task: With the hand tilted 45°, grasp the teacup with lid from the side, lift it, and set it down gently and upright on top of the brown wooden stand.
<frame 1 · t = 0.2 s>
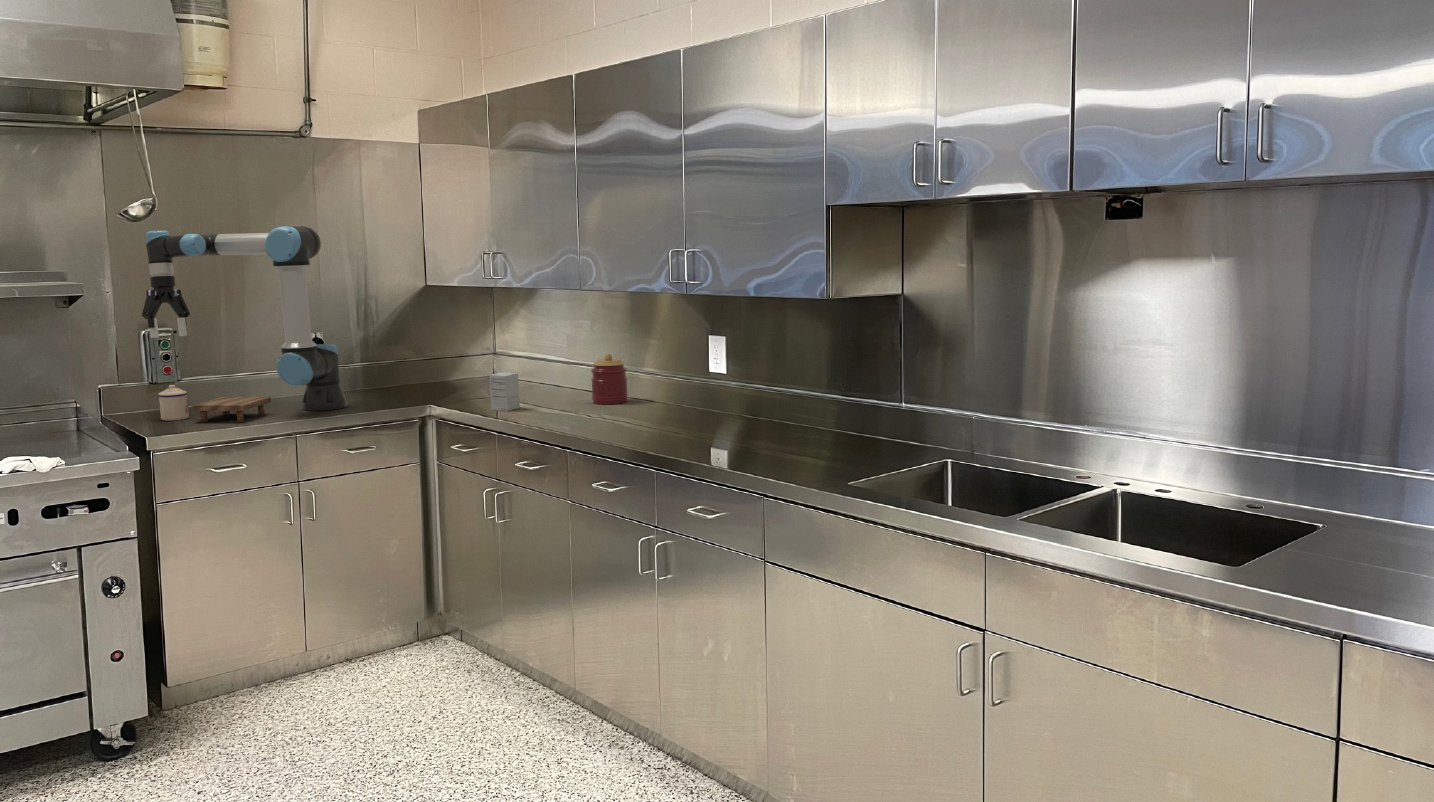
hand: (169, 336, 372), 27 cm above the worktop, tool pointing down, fingers open, 13 cm apart
brown wooden stand: (233, 418, 365), on the worktop
canister: (610, 402, 386), on the worktop
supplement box: (505, 409, 374), on the worktop
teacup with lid: (173, 418, 368), on the worktop
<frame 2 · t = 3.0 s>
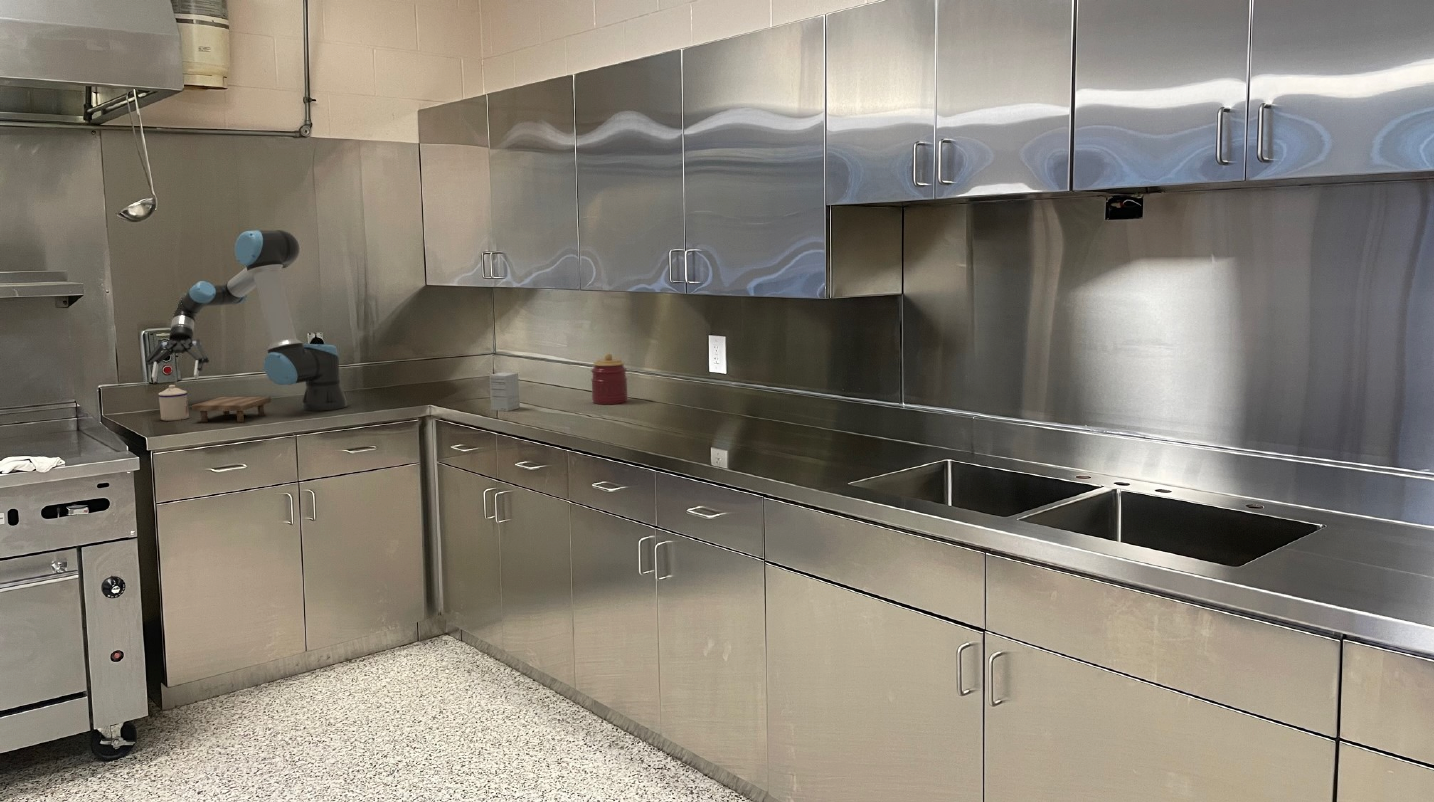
hand: (174, 378, 374), 13 cm above the worktop, tool tilted 45°, fingers open, 13 cm apart
nothing on the worktop moved.
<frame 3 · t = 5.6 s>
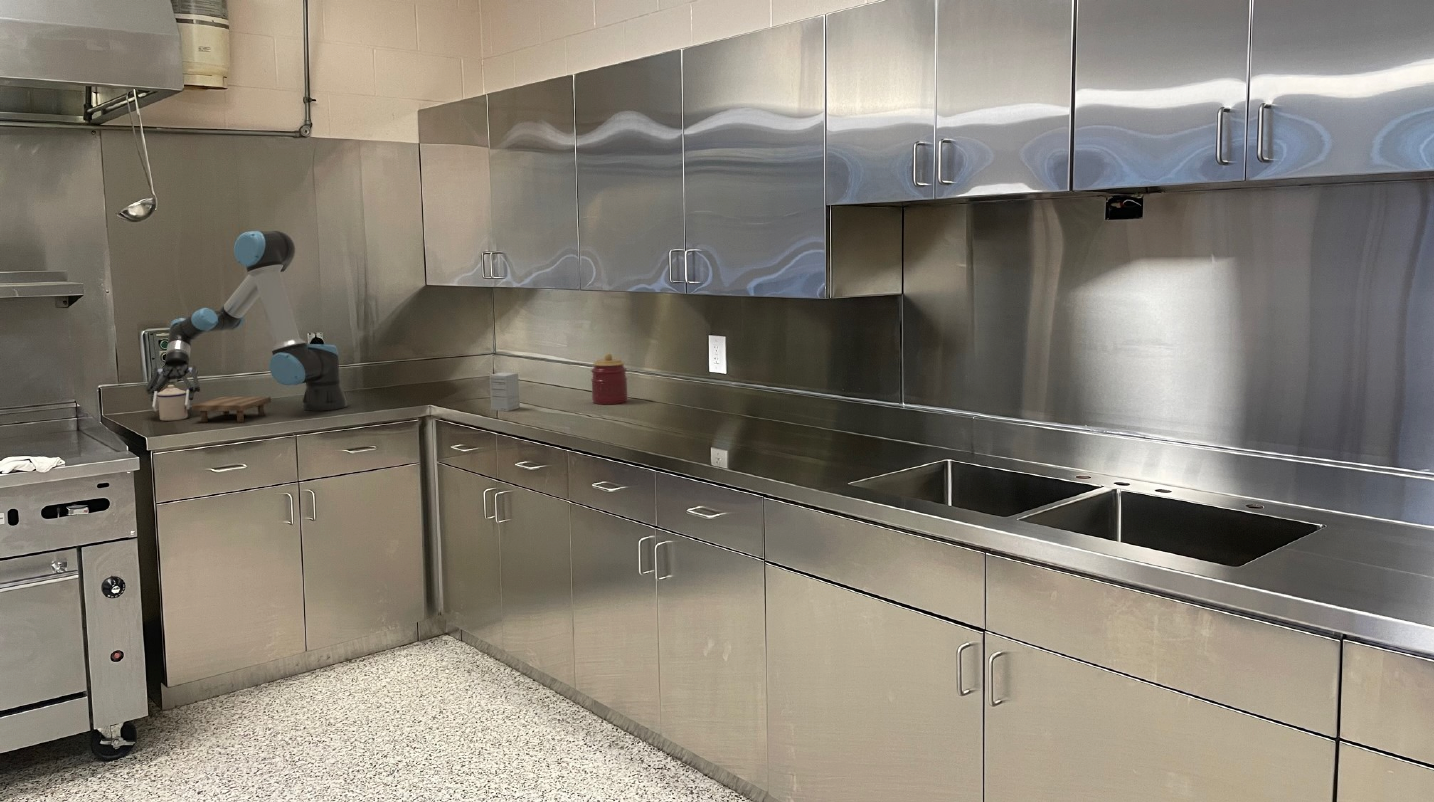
hand: (170, 407, 364), 4 cm above the worktop, tool tilted 45°, fingers open, 9 cm apart
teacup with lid: (172, 418, 368), on the worktop, touching gripper
everything else where it was.
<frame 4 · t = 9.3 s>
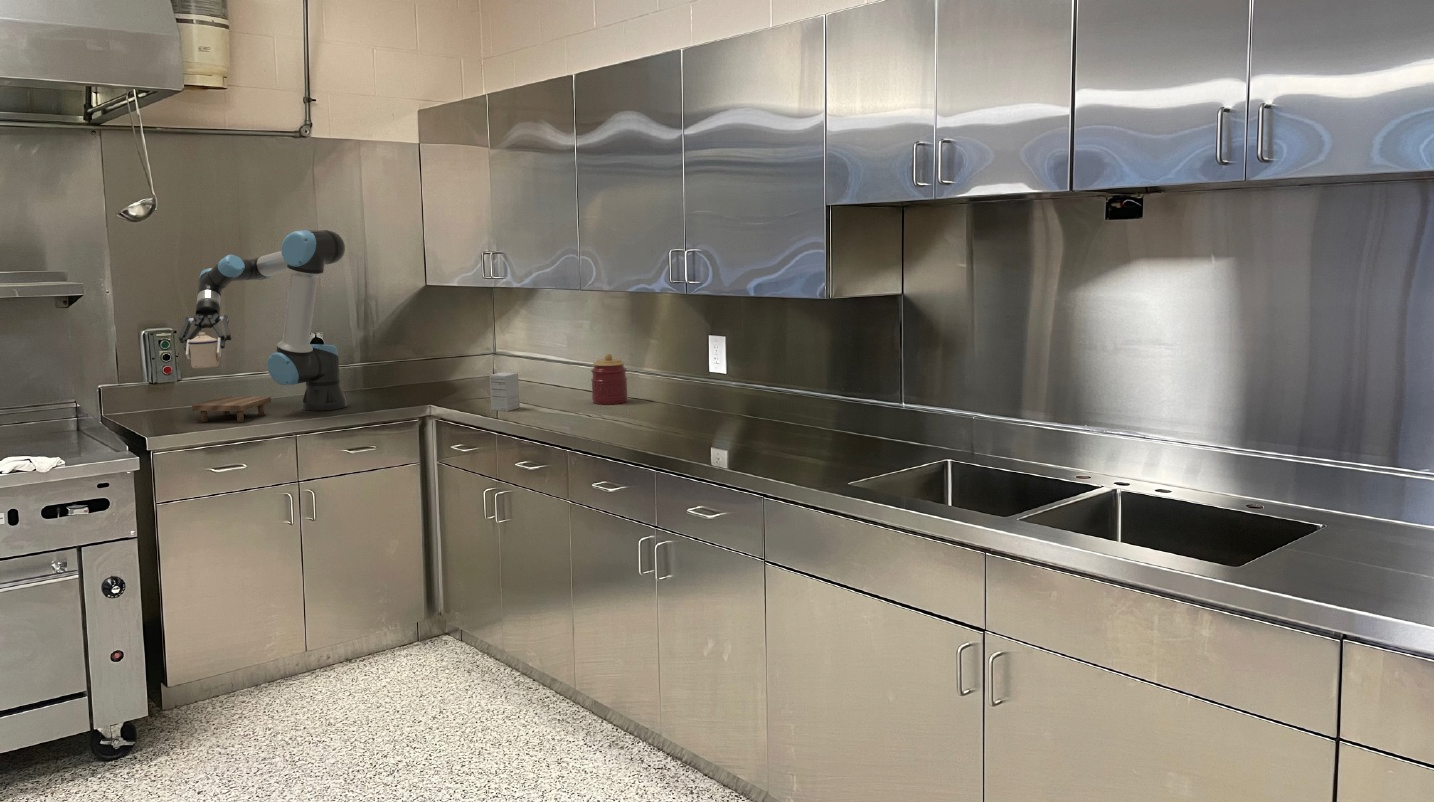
hand: (203, 355, 360), 22 cm above the worktop, tool tilted 45°, fingers closed on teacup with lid, 9 cm apart
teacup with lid: (204, 367, 364), point 18 cm above the worktop, touching gripper
everything else where it was.
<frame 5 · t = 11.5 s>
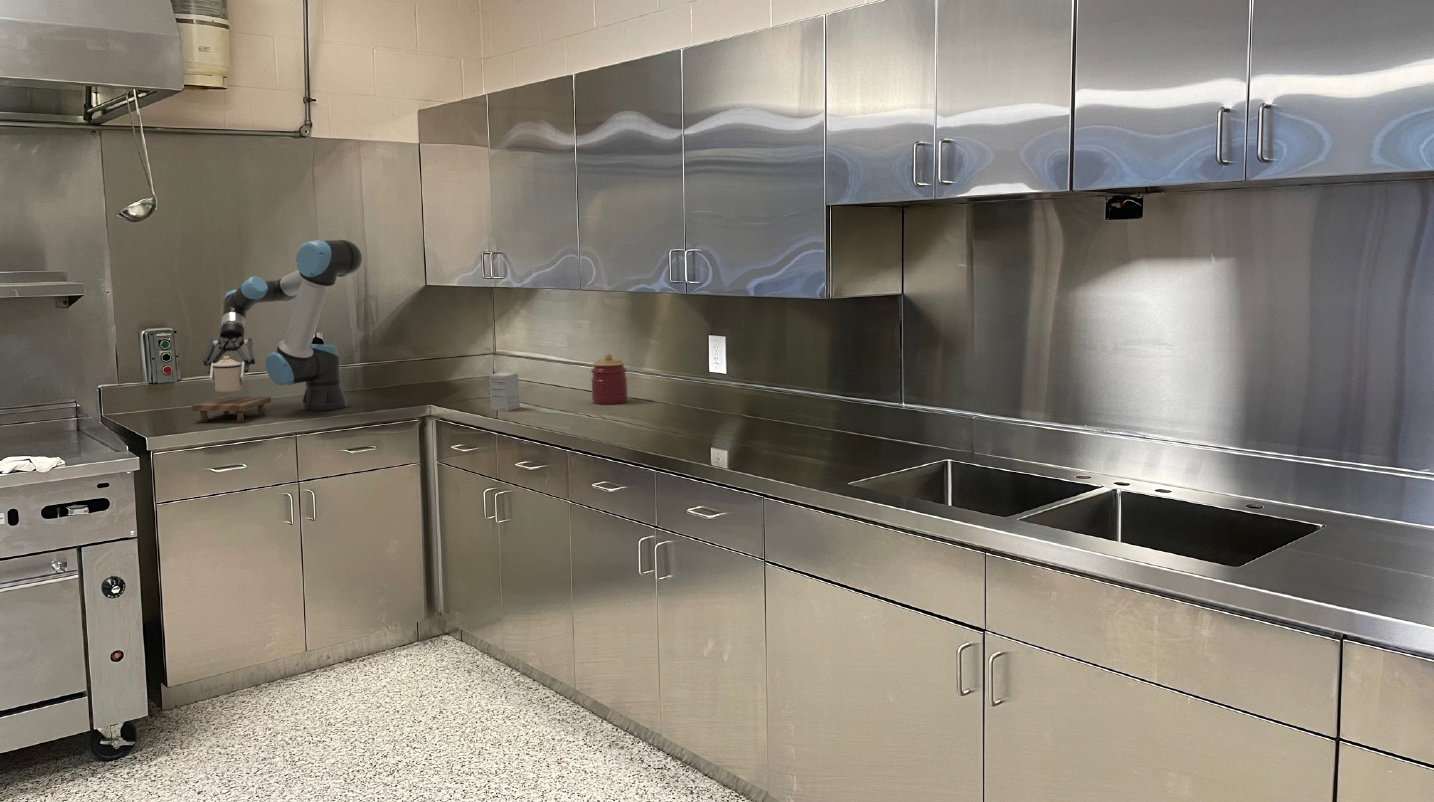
hand: (227, 379, 360), 14 cm above the worktop, tool tilted 45°, fingers closed on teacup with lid, 9 cm apart
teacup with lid: (227, 390, 364), point 10 cm above the worktop, touching gripper
everything else where it was.
when the fingers open (11 cm above the worktop, at t = 13.0 s): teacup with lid drops 2 cm, resting on brown wooden stand.
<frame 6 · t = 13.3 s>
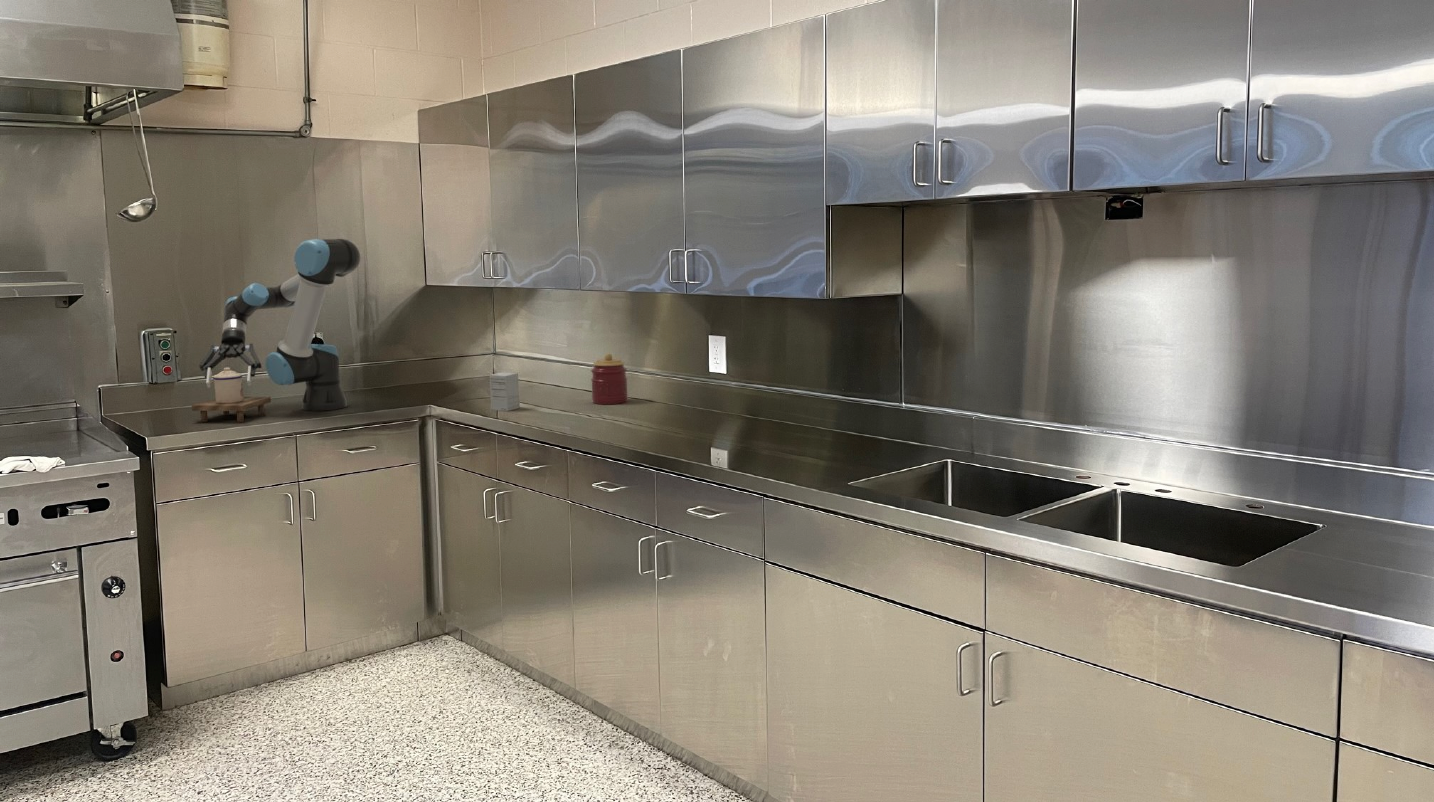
hand: (228, 384, 361), 12 cm above the worktop, tool tilted 45°, fingers open, 12 cm apart
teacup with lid: (228, 401, 364), point 6 cm above the worktop, touching brown wooden stand
everything else where it was.
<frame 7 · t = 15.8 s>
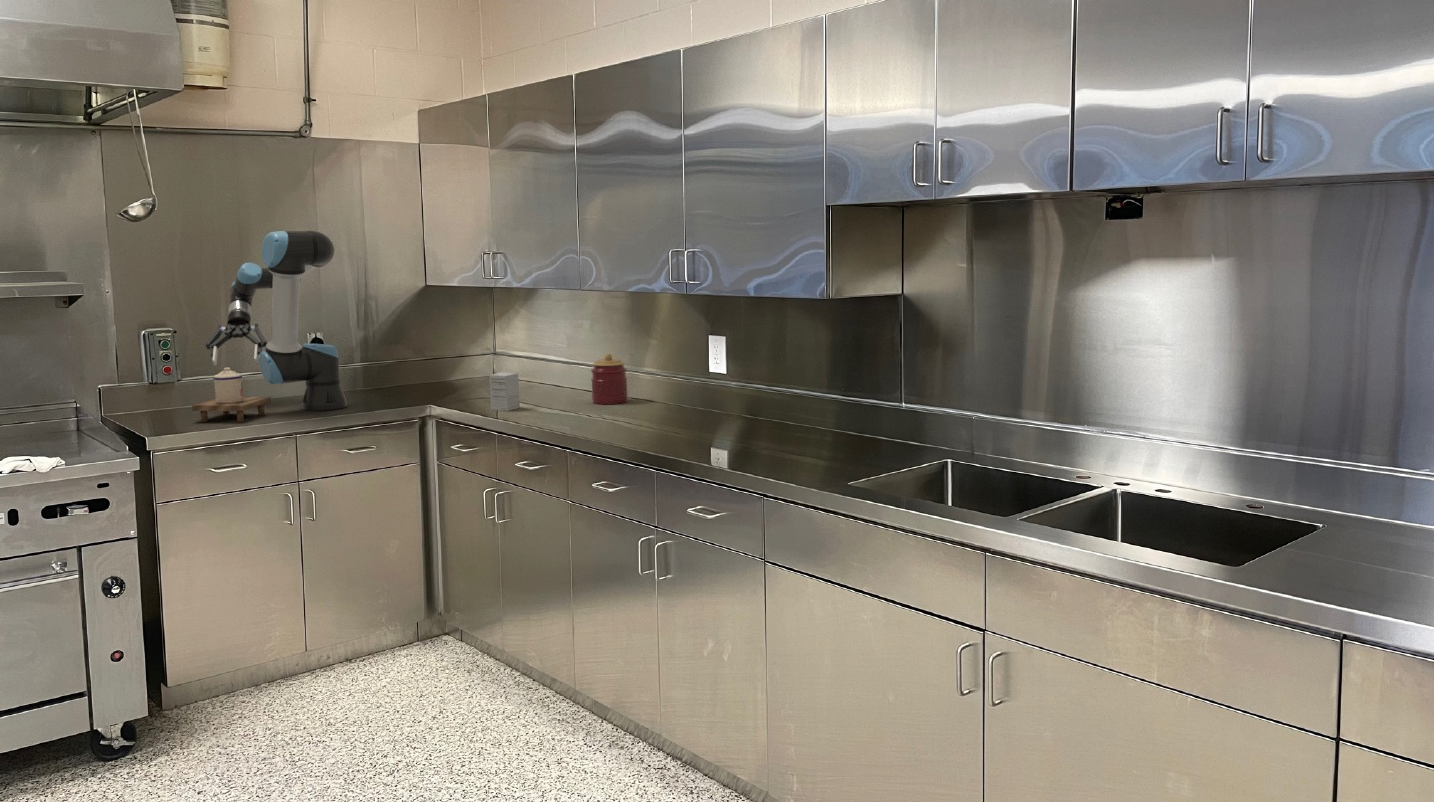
hand: (235, 362, 375), 18 cm above the worktop, tool tilted 45°, fingers open, 13 cm apart
nothing on the worktop moved.
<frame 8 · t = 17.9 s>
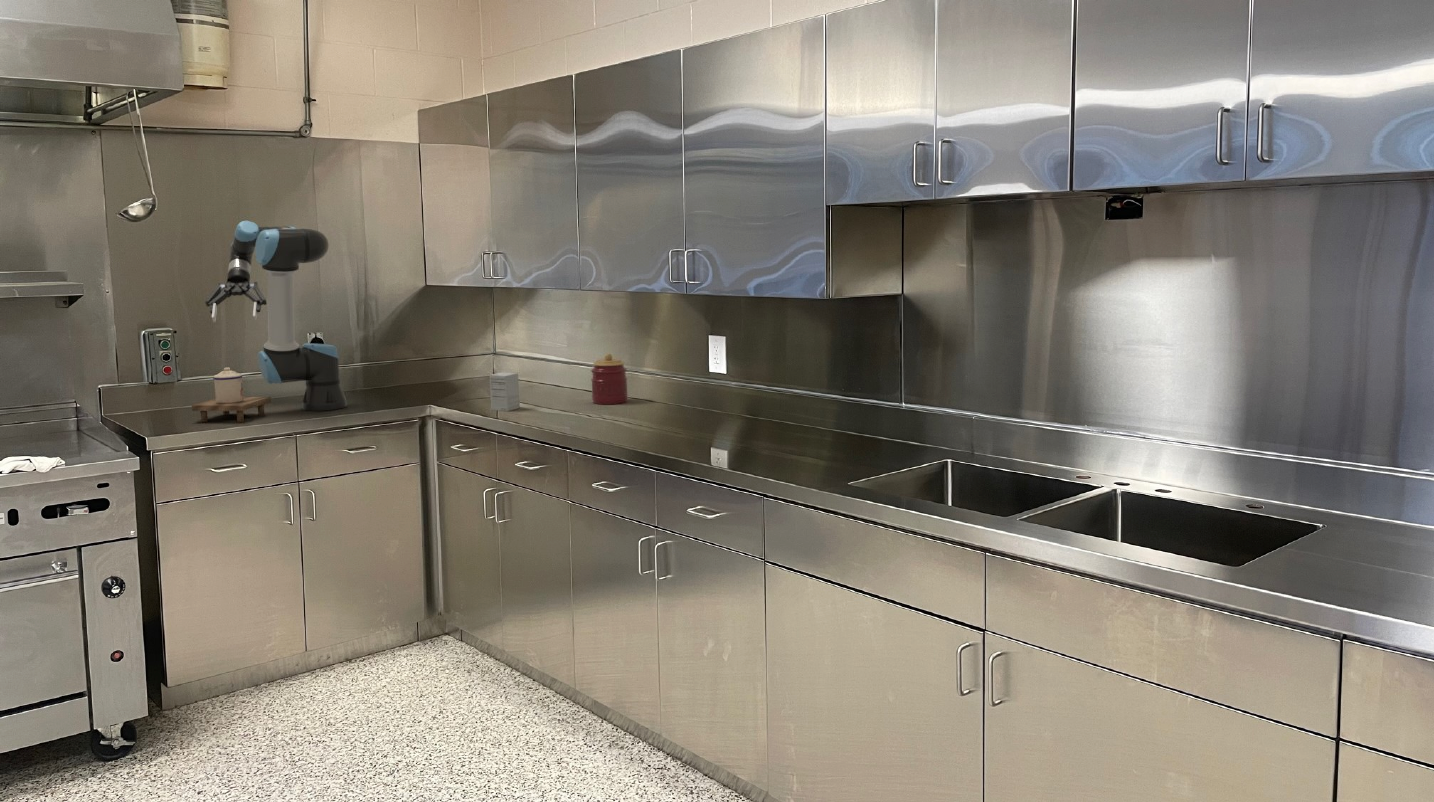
hand: (234, 318, 378), 33 cm above the worktop, tool tilted 45°, fingers open, 13 cm apart
nothing on the worktop moved.
at the end: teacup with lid inside the target area on the brown wooden stand (1.0 cm from its centre), point 5.8 cm above the brown wooden stand's base; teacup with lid tilted 0°; the gripper is holding nothing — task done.
